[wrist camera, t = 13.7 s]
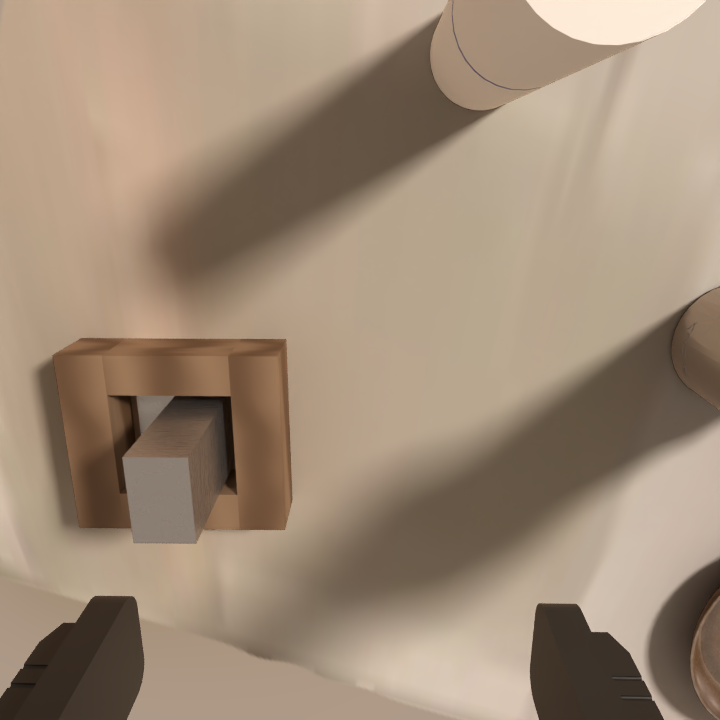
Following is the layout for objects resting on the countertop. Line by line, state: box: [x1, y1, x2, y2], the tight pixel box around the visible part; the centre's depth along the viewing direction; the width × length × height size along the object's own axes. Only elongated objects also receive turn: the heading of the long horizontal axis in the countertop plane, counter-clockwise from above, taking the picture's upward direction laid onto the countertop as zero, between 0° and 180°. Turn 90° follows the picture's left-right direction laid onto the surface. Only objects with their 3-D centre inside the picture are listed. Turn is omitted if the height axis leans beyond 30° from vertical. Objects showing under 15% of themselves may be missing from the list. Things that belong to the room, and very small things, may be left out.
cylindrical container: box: [430, 0, 706, 110], centre depth 30 cm, size 7×7×25 cm
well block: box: [53, 338, 292, 530], centre depth 48 cm, size 16×14×4 cm
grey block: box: [122, 396, 235, 544], centre depth 44 cm, size 7×6×12 cm
